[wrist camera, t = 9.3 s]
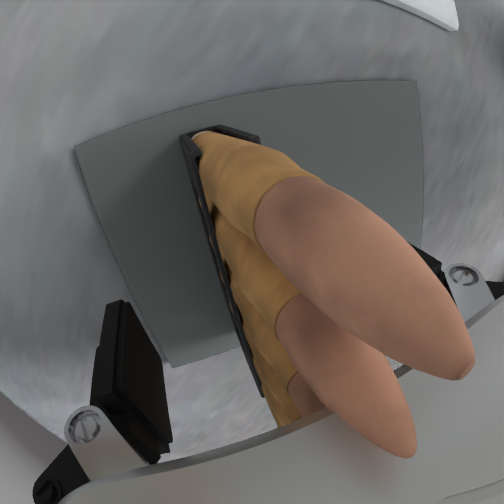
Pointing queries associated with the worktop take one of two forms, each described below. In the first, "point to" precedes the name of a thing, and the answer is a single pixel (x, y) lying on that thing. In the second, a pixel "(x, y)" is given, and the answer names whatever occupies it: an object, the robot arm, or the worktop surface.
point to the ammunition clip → (320, 290)
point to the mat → (271, 135)
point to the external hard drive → (431, 11)
